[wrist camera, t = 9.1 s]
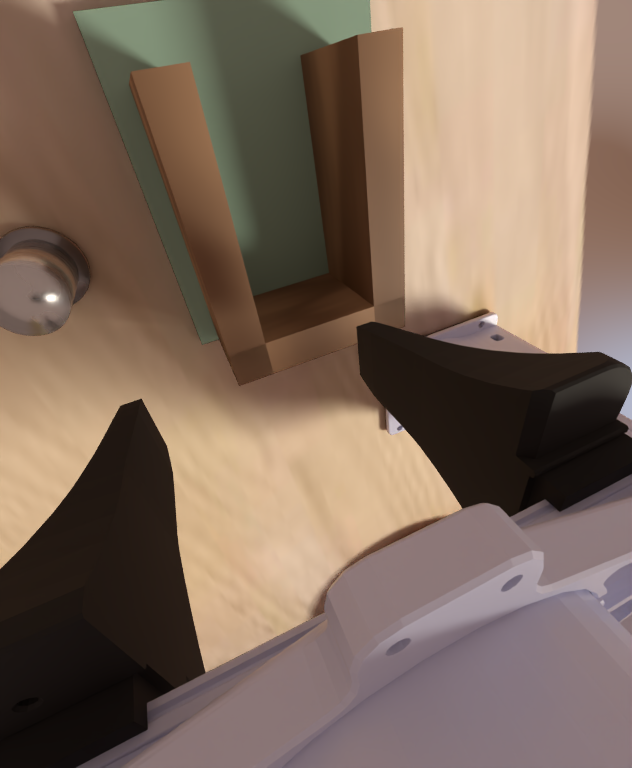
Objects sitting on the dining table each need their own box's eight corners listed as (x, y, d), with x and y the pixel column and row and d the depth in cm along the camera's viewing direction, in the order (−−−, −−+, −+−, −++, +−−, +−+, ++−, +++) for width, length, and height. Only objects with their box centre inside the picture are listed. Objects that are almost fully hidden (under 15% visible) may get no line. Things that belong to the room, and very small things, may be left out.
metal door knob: (64, 217, 16) (51, 240, 13) (104, 293, 18) (100, 329, 15) (-27, 238, 15) (-65, 268, 12) (25, 315, 17) (4, 357, 14)
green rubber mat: (361, -22, 16) (368, -26, 15) (377, 282, 23) (382, 285, 23) (74, 14, 13) (72, 11, 13) (200, 340, 21) (202, 344, 21)
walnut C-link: (336, 49, 16) (402, 27, 12) (357, 291, 22) (404, 326, 19) (128, 84, 14) (130, 71, 10) (217, 336, 21) (239, 386, 17)
